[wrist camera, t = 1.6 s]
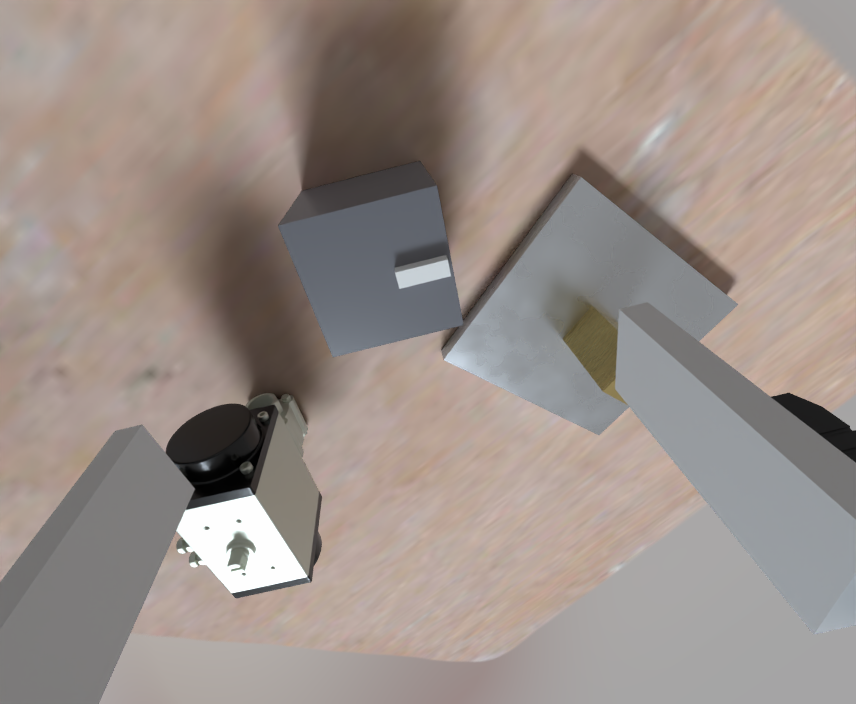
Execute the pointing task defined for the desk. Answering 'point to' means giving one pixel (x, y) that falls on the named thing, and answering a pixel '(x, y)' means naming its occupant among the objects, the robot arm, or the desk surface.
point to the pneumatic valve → (249, 495)
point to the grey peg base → (577, 307)
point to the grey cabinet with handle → (374, 258)
